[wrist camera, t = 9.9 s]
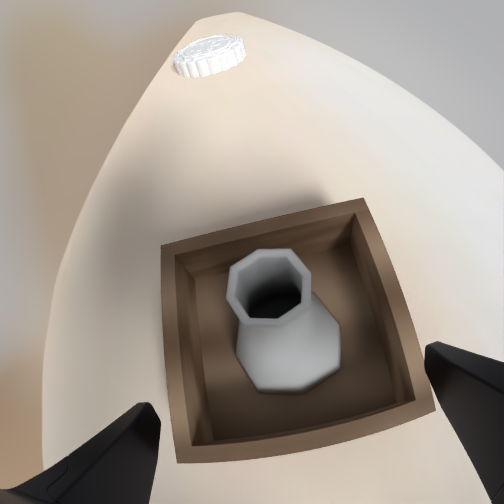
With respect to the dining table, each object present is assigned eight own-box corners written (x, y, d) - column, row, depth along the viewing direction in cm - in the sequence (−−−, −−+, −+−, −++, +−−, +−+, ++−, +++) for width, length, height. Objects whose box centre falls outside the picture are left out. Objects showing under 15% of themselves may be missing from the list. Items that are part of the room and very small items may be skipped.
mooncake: (169, 84, 42) (162, 67, 39) (187, 55, 48) (182, 40, 45) (242, 71, 40) (237, 52, 37) (249, 44, 46) (246, 27, 43)
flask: (225, 309, 22) (166, 234, 13) (323, 280, 21) (327, 185, 13) (248, 409, 18) (190, 406, 9) (357, 377, 17) (399, 346, 9)
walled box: (410, 411, 16) (435, 410, 12) (204, 454, 17) (177, 463, 13) (356, 234, 23) (363, 197, 19) (185, 274, 24) (160, 245, 20)
